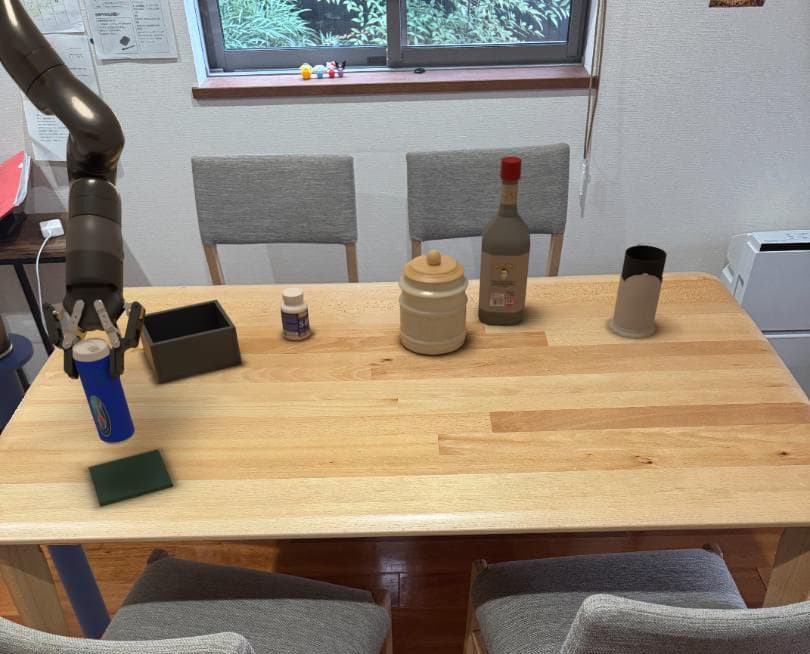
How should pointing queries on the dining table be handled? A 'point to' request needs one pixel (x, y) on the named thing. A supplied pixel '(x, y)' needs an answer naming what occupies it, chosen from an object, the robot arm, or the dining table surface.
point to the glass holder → (638, 291)
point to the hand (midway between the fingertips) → (94, 377)
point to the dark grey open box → (189, 341)
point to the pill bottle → (294, 314)
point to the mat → (130, 477)
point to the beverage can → (103, 391)
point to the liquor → (505, 255)
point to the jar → (433, 304)
